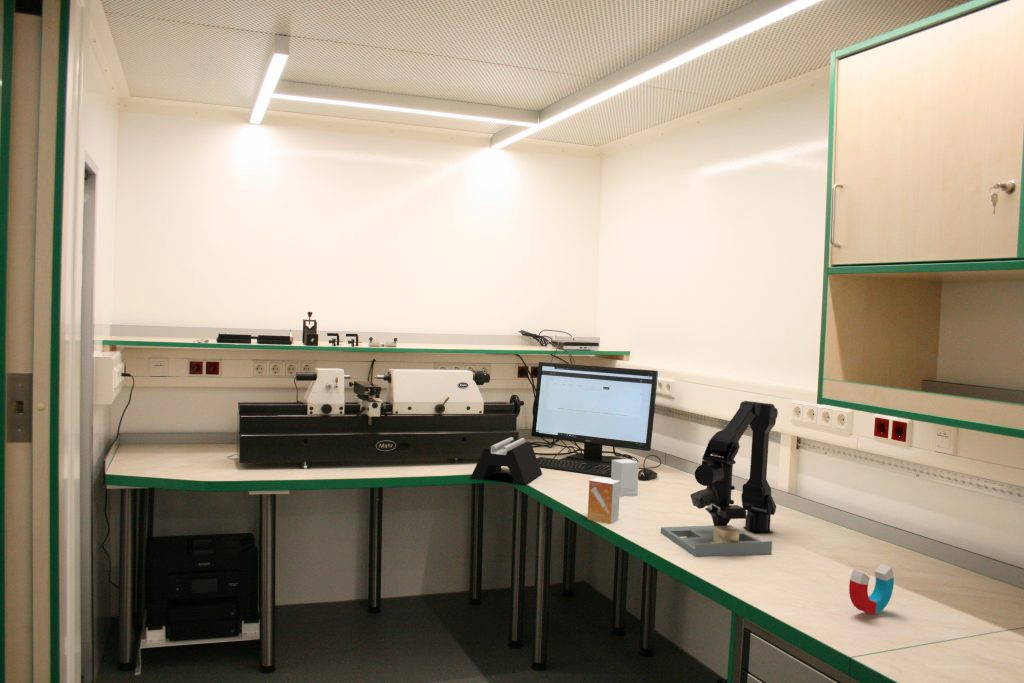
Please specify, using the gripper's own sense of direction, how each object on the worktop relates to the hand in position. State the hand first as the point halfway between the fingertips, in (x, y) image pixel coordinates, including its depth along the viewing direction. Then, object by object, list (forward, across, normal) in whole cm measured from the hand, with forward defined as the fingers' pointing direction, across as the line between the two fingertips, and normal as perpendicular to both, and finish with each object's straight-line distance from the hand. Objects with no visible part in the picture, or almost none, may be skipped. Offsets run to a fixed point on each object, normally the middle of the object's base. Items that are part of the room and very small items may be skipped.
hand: (718, 535), depth 215 cm
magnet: (+3, +50, +10) cm, 51 cm away
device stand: (+4, -89, -41) cm, 98 cm away
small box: (+4, -28, -24) cm, 37 cm away
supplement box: (+4, -60, -4) cm, 61 cm away
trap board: (+3, -2, 0) cm, 4 cm away
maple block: (+1, +4, 0) cm, 5 cm away
